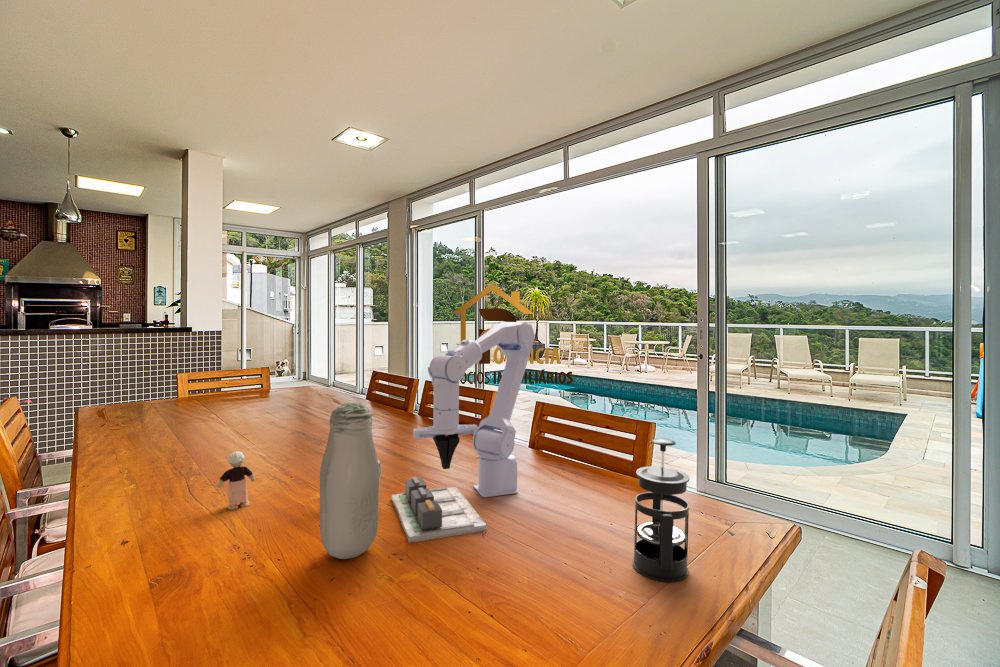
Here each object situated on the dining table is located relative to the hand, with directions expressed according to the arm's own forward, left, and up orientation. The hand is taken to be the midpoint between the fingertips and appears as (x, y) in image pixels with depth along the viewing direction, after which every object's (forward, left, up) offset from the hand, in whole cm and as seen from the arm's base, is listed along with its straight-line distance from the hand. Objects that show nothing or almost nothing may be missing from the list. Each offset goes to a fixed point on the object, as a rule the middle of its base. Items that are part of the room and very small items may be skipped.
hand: (445, 467), depth 106 cm
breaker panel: (+2, +1, -10) cm, 10 cm away
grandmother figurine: (+44, -18, -10) cm, 49 cm away
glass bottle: (+22, +13, -10) cm, 27 cm away
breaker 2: (+6, +1, -8) cm, 10 cm away
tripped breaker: (+6, +9, -8) cm, 13 cm away
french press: (-30, +37, -10) cm, 48 cm away
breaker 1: (+6, -6, -8) cm, 12 cm away
